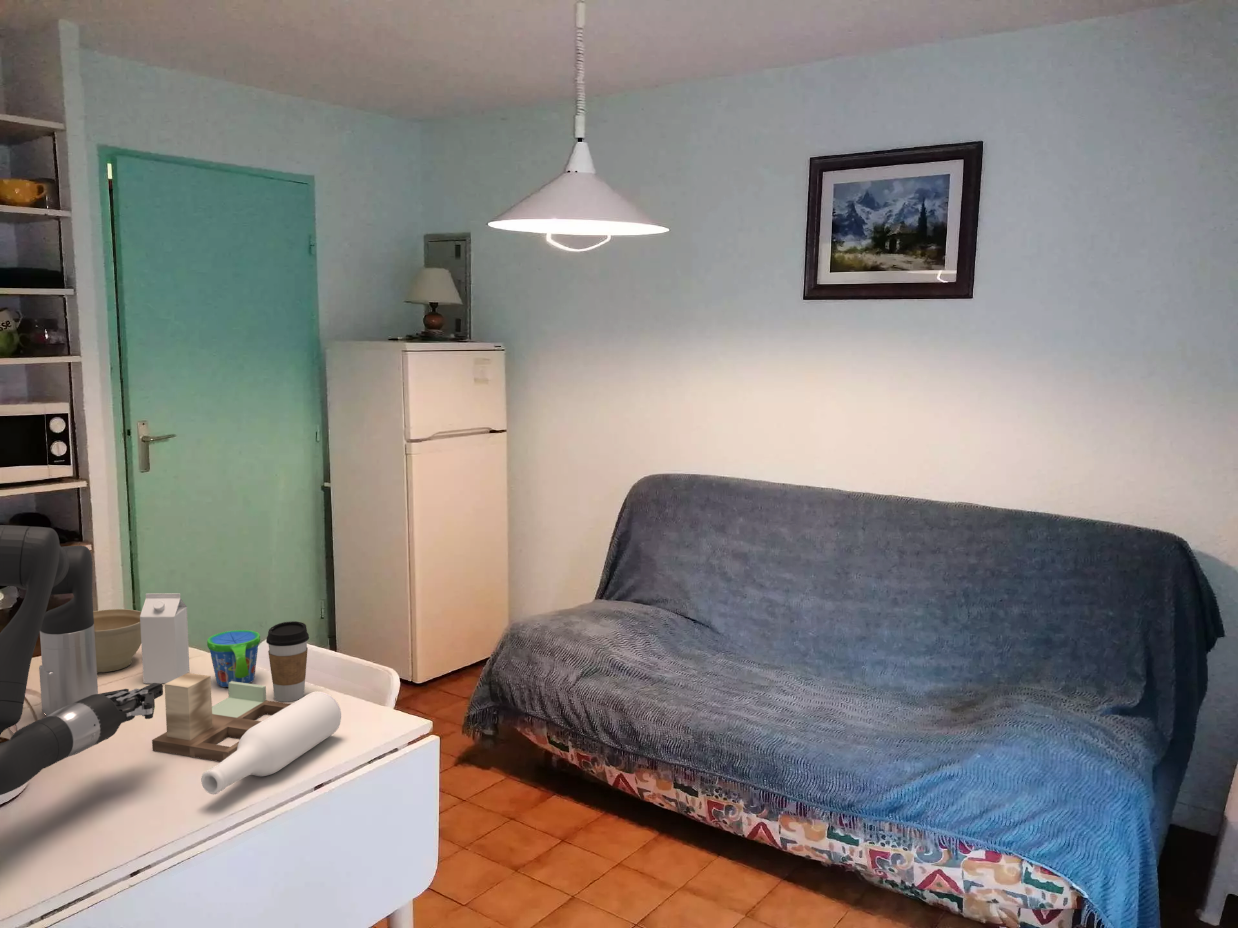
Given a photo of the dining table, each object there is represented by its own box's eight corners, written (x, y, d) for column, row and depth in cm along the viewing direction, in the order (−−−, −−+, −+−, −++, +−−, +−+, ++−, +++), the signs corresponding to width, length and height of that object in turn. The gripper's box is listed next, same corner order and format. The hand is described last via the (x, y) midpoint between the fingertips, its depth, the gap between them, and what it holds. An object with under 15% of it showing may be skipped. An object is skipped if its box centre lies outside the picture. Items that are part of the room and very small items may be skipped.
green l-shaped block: (237, 727, 180) (236, 702, 179) (202, 721, 182) (201, 697, 181) (266, 709, 189) (265, 685, 188) (232, 704, 191) (231, 681, 190)
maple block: (190, 740, 170) (187, 687, 168) (166, 736, 171) (164, 684, 169) (212, 726, 175) (210, 675, 174) (190, 723, 177) (187, 672, 175)
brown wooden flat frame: (228, 762, 165) (227, 752, 165) (152, 750, 170) (152, 739, 169) (301, 714, 186) (301, 705, 186) (232, 704, 191) (232, 695, 190)
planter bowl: (91, 684, 199) (88, 635, 198) (52, 668, 208) (49, 621, 206) (163, 663, 213) (160, 617, 211) (123, 648, 221) (121, 604, 220)
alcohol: (301, 688, 178) (184, 754, 150) (341, 690, 176) (229, 758, 147) (306, 732, 179) (191, 807, 151) (345, 735, 177) (236, 811, 148)
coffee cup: (317, 689, 199) (315, 621, 197) (299, 705, 191) (298, 634, 189) (279, 687, 200) (277, 619, 198) (260, 702, 192) (258, 632, 190)
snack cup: (207, 673, 207) (205, 629, 206) (258, 666, 212) (256, 623, 210) (210, 698, 193) (208, 651, 192) (265, 691, 198) (263, 645, 196)
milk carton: (156, 672, 207) (152, 588, 204) (189, 671, 208) (186, 588, 205) (143, 684, 200) (138, 598, 197) (177, 683, 201) (173, 598, 198)
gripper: (112, 708, 146) (190, 671, 162) (43, 698, 149) (127, 663, 166) (114, 754, 147) (192, 713, 163) (46, 743, 150) (129, 704, 167)
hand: (159, 688), depth 164 cm, fingers closed
